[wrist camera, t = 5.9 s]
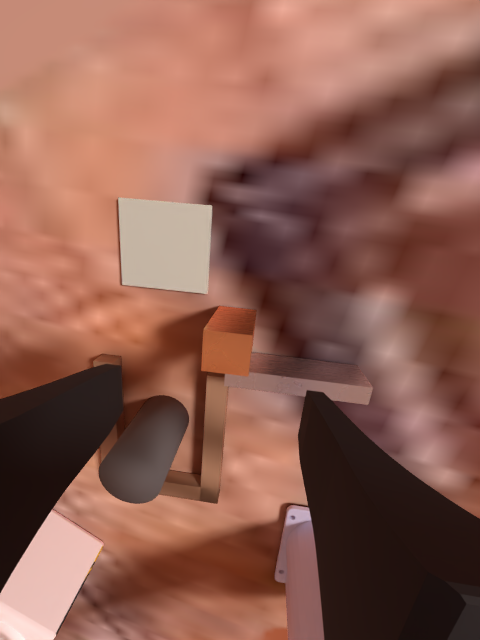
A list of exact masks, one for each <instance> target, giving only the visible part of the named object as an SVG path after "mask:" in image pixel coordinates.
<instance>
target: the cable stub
mask: <svg viewBox="0 0 480 640" xmlns="http://www.w3.org/2000/svg"><path fill="white" fill-rule="evenodd" d="M188 423H189V415H188V412H187V410H186V408H185V407H184V405H183V404H182V403H181V402H179V401H178V400H176V399H175V398H172V397H169V396H164V395H159V396H154V397H152V398H150V399H148V400H147V401H146V402H145V403H144V405H143V406H142V407H141V409H140V410H139V412H138V413H137V414H136V416H135V417H134V418H133V420H132V421H131V423H130V424H129V425H128V427H127V428H126V429H125V431H124V432H123V433H122V435H121V436H120V438H119V439H118V440H117V442H116V443H115V444H114V446H113V447H112V449H111V450H110V451H109V453H108V454H107V455H106V457H105V458H104V459H103V461H102V462H101V464H100V467H99V478H100V481H101V483H102V485H103V486H104V487H105V489H106V490H107V491H108V492H109V493H110V494H112V495H113V496H114V497H116V498H118V499H120V500H122V501H125V502H129V503H135V504H140V503H146V502H149V501H151V500H153V499H154V498H156V497H157V496H158V494H159V493H160V491H161V488H162V486H163V484H164V481H165V479H166V476H167V474H168V472H169V469H170V467H171V465H172V462H173V460H174V457H175V455H176V453H177V450H178V448H179V445H180V443H181V441H182V438H183V436H184V434H185V431H186V429H187V426H188Z"/></svg>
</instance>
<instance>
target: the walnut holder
mask: <svg viewBox="0 0 480 640" xmlns="http://www.w3.org/2000/svg"><path fill="white" fill-rule="evenodd" d="M103 364H113V365H120V366H121V371H122V365H121V356H114V355H106V354H102V355H100V356H99V357H98V358H96V359H95V360H93V366H94V367H96V366H99V365H103ZM224 380H225V374H223V373H215V372H208V374H207V384H206V402H205V419H204V437H203V454H202V472H201V475H198V474H191V473H185V472H178V471H172V470H169V472H168V474H167V476H166V479H165V481H164V484H163V486H162V488H161V491H160V493H159V495H165V496H172V497H178V498H184V499H191V500H197V501H203V502H209V503H216V504H217V503H218V497H219V492H220V481H221V470H222V458H223V446H224V435H225V423H226V411H227V400H228V388H229V387H228V386H224ZM122 393H123V385H122ZM124 431H125V425H124V405H123V412H122V413H121V415H120V417H119V419H118V421H117V422H116V424H115V426H114V427H113V429H112V430H111V432H110V434H109V435H108V436H107V438H106V439H105V440H104V441H103V443H102V444H101V445H100V449H101V461H103V459H104V458H105V457H106V455H107V454H108V453H109V451H110V450H111V449H112V447H113V446H114V444H115V443H116V442H117V440H118V439H119V438H120V436H121V435H122V433H123V432H124Z"/></svg>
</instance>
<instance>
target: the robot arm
mask: <svg viewBox="0 0 480 640" xmlns="http://www.w3.org/2000/svg"><path fill="white" fill-rule="evenodd" d="M122 412H123V393H122V371H121V366H120V365H113V364H103V365H99V366H96V367H93V368H90V369H87V370H84V371H81V372H79V373H76V374H73V375H70V376H68V377H65V378H62V379H59V380H57V381H54V382H51V383H48V384H46V385H43V386H40V387H37V388H34V389H31V390H28V391H25V392H22V393H19V394H16V395H13V396H9V397H6V398H3V399H0V593H1V591H2V590H3V588H4V586H5V584H6V583H7V581H8V579H9V578H10V576H11V574H12V572H13V571H14V569H15V567H16V566H17V564H18V562H19V561H20V559H21V558H22V556H23V554H24V553H25V551H26V550H27V548H28V546H29V545H30V543H31V541H32V540H33V538H34V537H35V535H36V533H37V532H38V530H39V529H40V527H41V526H42V524H43V523H44V521H45V519H46V518H47V516H48V515H49V513H50V512H51V510H52V509H53V507H54V506H55V504H56V503H57V501H58V500H59V498H60V497H61V496H62V494H63V493H64V491H65V490H66V489H67V487H68V486H69V485H70V484H71V482H72V481H73V480H74V478H75V477H76V476H77V475H78V473H79V472H80V471H81V470H82V468H83V467H84V466H85V464H86V463H87V462H88V461H89V459H90V458H91V457H92V456H93V454H94V453H95V452H96V451H97V449H98V448H99V447H100V445H101V444H102V443H103V441H104V440H105V439H106V438H107V436H108V435H109V434H110V432H111V430H112V429H113V427H114V426H115V424H116V422H117V421H118V419H119V417H120V415H121V413H122ZM298 441H299V456H300V464H301V470H302V475H303V480H304V486H305V491H306V496H307V501H308V506H309V508H308V507H302V506H296V505H290V506H289V507H288V508H287V511H286V517H285V522H284V527H283V532H282V538H281V543H280V548H279V553H278V559H277V564H276V569H275V580H276V581H277V582H281V583H285V587H286V607H287V627H288V640H480V519H479V518H477V517H476V516H474V515H472V514H471V513H469V512H467V511H466V510H464V509H463V508H461V507H460V506H458V505H456V504H455V503H453V502H452V501H450V500H449V499H447V498H446V497H444V496H443V495H441V494H440V493H439V492H437V491H436V490H434V489H433V488H431V487H430V486H428V485H427V484H425V483H424V482H423V481H421V480H420V479H418V478H417V477H416V476H414V475H413V474H412V473H410V472H409V471H408V470H406V469H405V468H404V467H403V466H401V465H400V464H399V463H398V462H396V461H395V460H394V459H392V458H391V457H390V456H389V455H388V454H386V453H385V452H384V451H383V450H382V449H380V448H379V447H378V446H377V445H376V444H375V443H374V442H373V441H372V440H370V439H369V438H368V437H367V436H366V435H365V434H364V433H363V432H362V431H361V430H360V429H359V428H358V427H357V426H356V425H355V424H354V423H353V422H352V421H351V420H350V419H349V418H348V417H347V416H346V415H345V414H344V413H343V412H342V411H341V410H340V409H339V408H338V407H337V406H336V405H335V404H334V403H333V402H332V400H331V399H330V398H329V397H328V396H327V395H326V394H325V393H324V392H318V391H311V390H307V391H306V396H305V402H304V407H303V412H302V417H301V423H300V428H299V433H298Z"/></svg>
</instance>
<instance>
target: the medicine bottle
mask: <svg viewBox="0 0 480 640" xmlns="http://www.w3.org/2000/svg"><path fill="white" fill-rule="evenodd" d="M103 545H104V543H103V541H101V540H100V539H98V538H97V537H95V536H93V535H92V534H90V533H89V532H87V531H86V530H84V529H83V528H81V527H80V526H78V525H76V524H75V523H73V522H72V521H70V520H69V519H67V518H66V517H64V516H63V515H61V514H60V513H58V512H56V511H55V510H53V509H52V510H51V512H50V513H49V515H48V516H47V518H46V519H45V521H44V523H43V524H42V526H41V527H40V529H39V530H38V532H37V533H36V535H35V537H34V538H33V540H32V541H31V543H30V545H29V546H28V548H27V550H26V551H25V553H24V554H23V556H22V558H21V559H20V561H19V562H18V564H17V566H16V567H15V569H14V571H13V572H12V574H11V576H10V578H9V579H8V581H7V583H6V584H5V586H4V588H3V590H2V591H1V593H0V640H53V639H54V638H55V637H56V635H57V633H58V631H59V629H60V628H61V626H62V624H63V622H64V620H65V618H66V616H67V614H68V612H69V611H70V609H71V607H72V605H73V603H74V601H75V599H76V597H77V595H78V593H79V592H80V590H81V588H82V586H83V584H84V582H85V580H86V578H87V576H88V575H89V573H90V571H91V569H92V567H93V565H94V563H95V561H96V559H97V557H98V556H99V554H100V552H101V550H102V548H103Z"/></svg>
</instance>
